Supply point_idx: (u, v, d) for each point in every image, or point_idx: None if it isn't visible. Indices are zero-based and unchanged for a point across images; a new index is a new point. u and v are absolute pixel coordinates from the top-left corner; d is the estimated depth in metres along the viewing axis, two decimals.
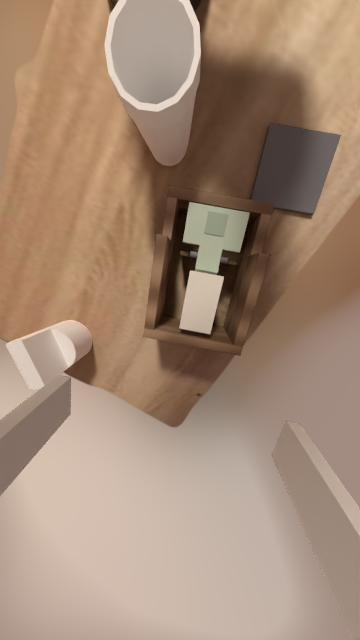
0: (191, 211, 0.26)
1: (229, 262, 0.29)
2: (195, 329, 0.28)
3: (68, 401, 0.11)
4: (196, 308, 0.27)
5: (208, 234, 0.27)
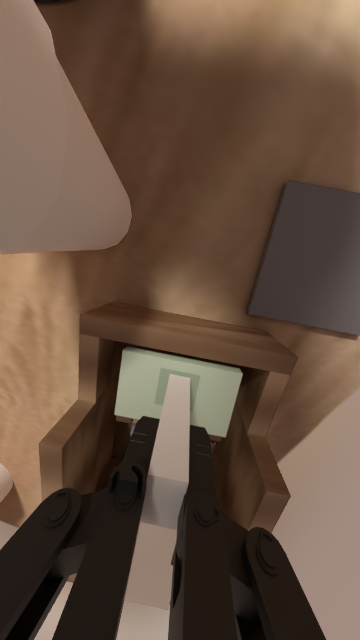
0: (128, 366, 0.13)
1: None
2: (137, 599, 0.13)
3: None
4: (136, 567, 0.13)
5: None
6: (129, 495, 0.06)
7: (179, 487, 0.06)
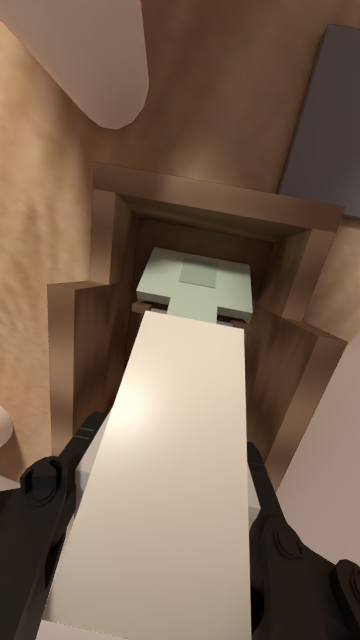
0: (156, 256, 0.16)
1: None
2: (151, 619, 0.04)
3: None
4: (160, 446, 0.06)
5: (187, 283, 0.14)
6: (47, 490, 0.05)
7: (249, 513, 0.06)
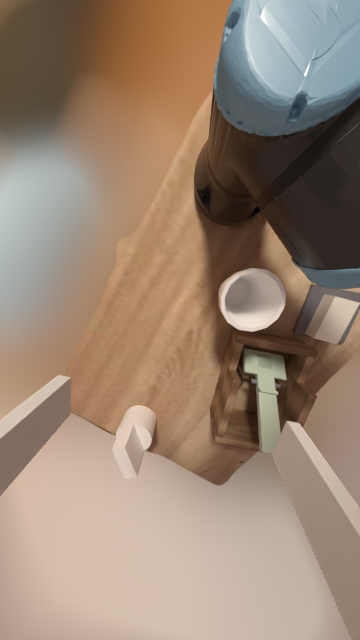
0: (246, 353, 0.40)
1: None
2: (326, 340, 0.36)
3: (68, 401, 0.11)
4: (331, 324, 0.35)
5: (261, 367, 0.38)
6: None
7: None
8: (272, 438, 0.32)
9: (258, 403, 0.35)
